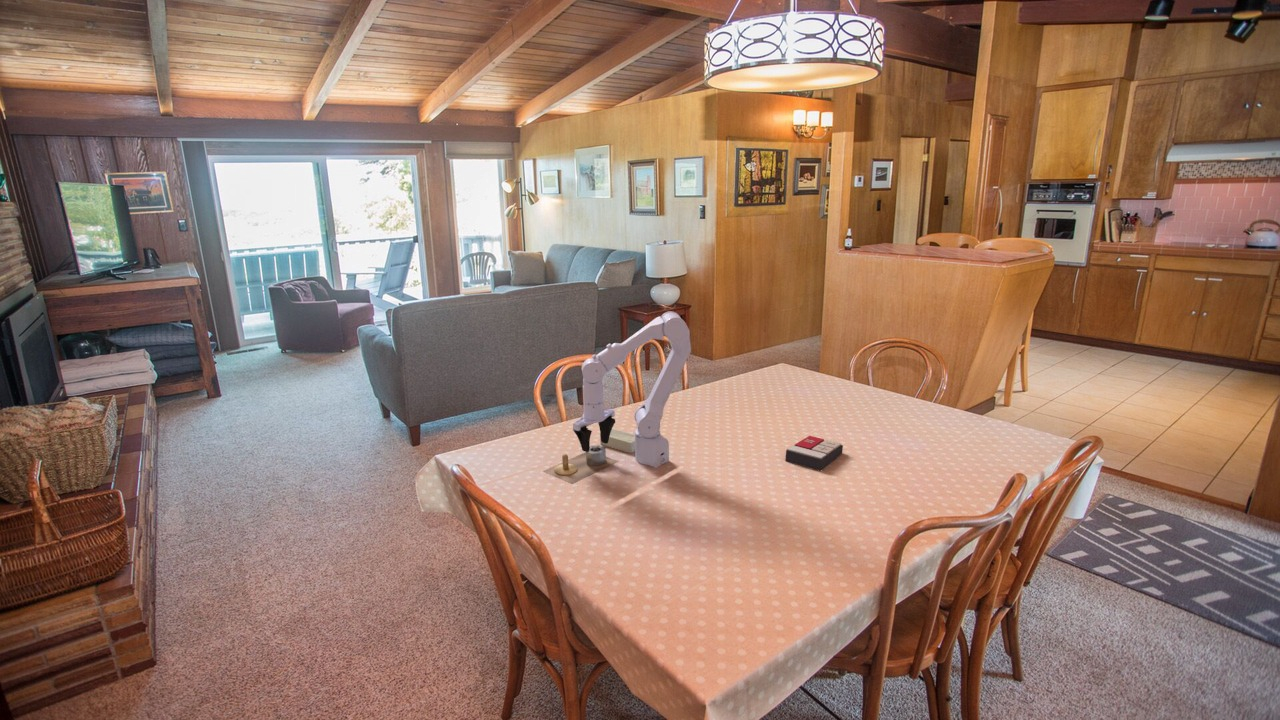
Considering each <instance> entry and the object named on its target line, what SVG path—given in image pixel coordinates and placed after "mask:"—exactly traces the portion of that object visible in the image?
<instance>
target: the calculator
mask: <svg viewBox="0 0 1280 720" xmlns="http://www.w3.org/2000/svg"><path fill="white" fill-rule="evenodd" d="M843 448H844V445H843V444H842V443H841V442H836V441H834V440H833V441H832V440H829V439H824V438H820V437H816V436H812V435H807V437H805V438H803V439H801V440H800V441H798V442H797V443H795V444H794V445H792V446H791V447H789V448H786V450H785V462H788V463H791V464H794V465H797V466H801V467H804V468H809V469H811V468H812V470H816V471H818V470H819V472H822V471H823V470H824V469H826V468H827V467H828V466H829V465H830V464H831V463H833V462H834V461H836V460H837V459H838V458H839V457H840V456H841V455H842V454H843V450H844V449H843ZM837 457H838V458H837ZM826 466H827V467H826ZM825 467H826V468H825ZM821 470H822V471H821Z"/></svg>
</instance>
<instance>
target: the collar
mask: <svg viewBox="0 0 1280 720" xmlns="http://www.w3.org/2000/svg"><path fill="white" fill-rule="evenodd" d="M593 447H598V448H599V451H595V452H594V451H593ZM606 457H607V454H606V446H604V445H601V444H599V445H590V449H589V452H586V462H587V465H589V466H592V467H595V466H602V465H604V464H606Z"/></svg>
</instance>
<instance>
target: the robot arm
mask: <svg viewBox="0 0 1280 720" xmlns="http://www.w3.org/2000/svg"><path fill="white" fill-rule="evenodd" d="M690 332H691V331H690V328H689V327H688V325H687V323H686V322H685V320H684V319H682V318H681V316H680V315H679V313H677V312H675V311H671V310H670V311H666V312H664V313H663V314H662V315H661V316H657V317H655V318H654V319H652V320H651V321H650V322H649V323H647V324H646V325H645V326H643V327H642V328H640V329H639V330H638V331H636V332H635V333H633V335H631V336H630V337H628V338H627V339H625V340H624V341H623V342H621V343H619V342H614V343H612V344H611V343H608V344H606V348H605V349H603V350H601V351H600V352H598V353H597V354H594V353H593V355H591V357H589V358H587V359H585V360H584V361H583V363H582V364H581V372H582V377H583V379H582V400H583V401H582V402H583V413H582V416H581V417H580V418H578V419H577V420H576V421H574V422H572V431H573V432H574V433H575V435H576V437H577V439H578V441H579V443H580V447H581V450H582V451H583V452H584V453H585V452H589V449H590V446H591V445H590V443H591V442H590V441H591V435H592V433H593V430H591V429H588V427H589V426H591V425H594V424H597V423H598V427H599V433H600V435H599V437H600V436H601V442H603V443H606V444H607V443H608V441H609V436H610V433H611V430H612V429H613V427H614V425H615V424H616V418H614V417H615V414H616V413H615V409H612V408H608V409H605V398H604V397H605V396H604V395H605V394H604V393H605V391H604V384H603V379H604V377H605V374H607V373H609V372H611V371H612V370H613V369H616V368H617V367H618V366H620V365H621V364H622V363H624V362H625V361H626V360H627V359H628V355H629V354H630V353H631V352H633V351H635V350H636V349H638V348H640V347H641V346H643V345H644V344H646V343H647V342H649V341H651V340H662V341H663V340H665V338H664V336H665V337H666V338H667V340H668V342H669V344H670V347H671V350H670V351H669V354H668V356H667V358H666V360H665V362H664V364H663V367H662V369H661V371H660V373H659V376H658V377H657V379H656V381H655V383H654V386H653V387H652V390H651V391H650V394H649V395H648V398H646V399H645V400H644V401H643V403H642V405H641V406H640V407H638V408H637V409H636V411H635V413H634V421H635V423H636V426H637V427H636V429H634V434H635V451H634V455H635V456H634V457H635V458H634V460H635V461H636V462H637V463H638V464H641V465H646V466H650V467H652V468H658V467H660V466H661V465H664V464H666V463H667V462H669V461H670V443H669V439H668V438H666V437H664V436H663V435H662V433H661V420H662V418H663V416H664V415H663V414H664V408H665V405H666V404H667V402H668V400H669V397H670V395H671V394H672V391H673V389H674V387H675V385H676V383H677V381H678V379H679V377H680V376H681V373H682V371H683V369H684V366H685V365H686V363H687V361H688V359H689V356H690V354H691V352H692V345H691V337H690V336H691V335H690V334H691V333H690Z"/></svg>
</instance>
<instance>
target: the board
mask: <svg viewBox="0 0 1280 720" xmlns="http://www.w3.org/2000/svg"><path fill="white" fill-rule="evenodd" d="M593 451H594V452H595V451H599V448H598V447H593ZM561 459H562V460H561V463H558V464H556V465H553V466H552V467H550V468H547V469H546V470H543V471H542V472H543V473H545V474H548V475H550V476H553V477H555V478H557V479H560V480H563V481H565V482H567V483H569V484H571V485H573V484H575V483H577V482H579V481H581V480H583V479H585V478H587V477H590V476H592V475H594V474H596V473H598V472H600V471H602V470H604V469H606V468H609V467H611V466H613V465H614V464H616V463H618V462H619V460H617V459H613V458H610V457H607V456H606V464H604V465H602V466H595V467H592V466H589V465H587V462H586V452H585V451H584V452H583V453H581V454H579V455H576V456H574V457H572V458H570V459H569V456H568V454H566V453H563V455H562V457H561Z"/></svg>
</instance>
